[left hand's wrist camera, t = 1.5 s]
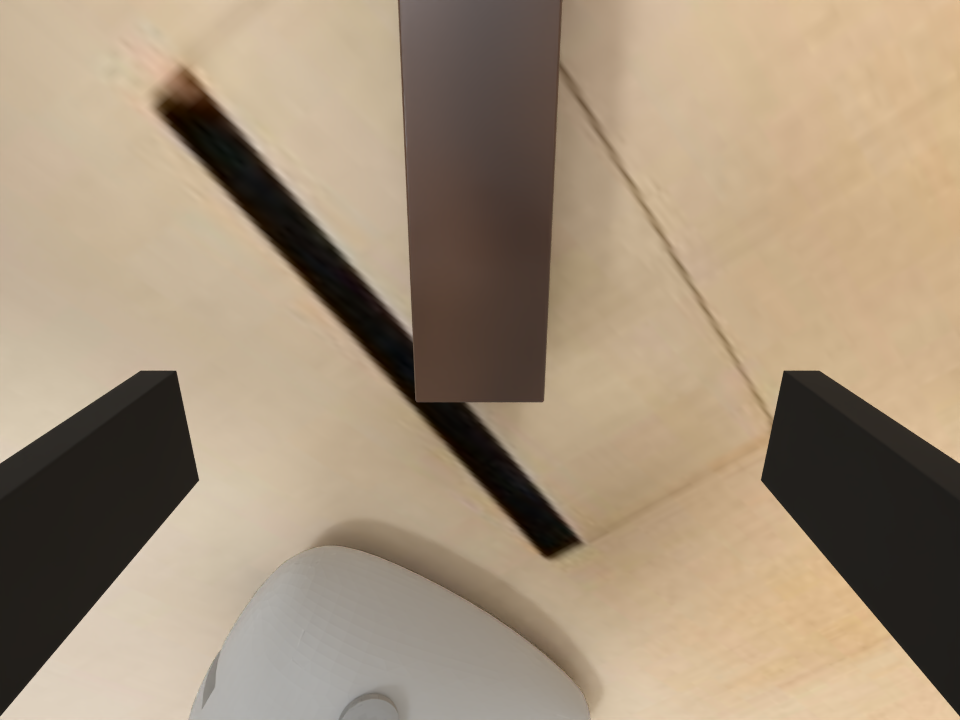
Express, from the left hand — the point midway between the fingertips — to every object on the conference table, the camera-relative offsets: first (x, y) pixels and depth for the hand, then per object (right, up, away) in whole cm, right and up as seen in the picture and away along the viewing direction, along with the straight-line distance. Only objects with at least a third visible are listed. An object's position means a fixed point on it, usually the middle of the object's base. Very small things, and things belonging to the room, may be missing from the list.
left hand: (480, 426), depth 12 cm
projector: (-4, -18, +25) cm, 31 cm away
